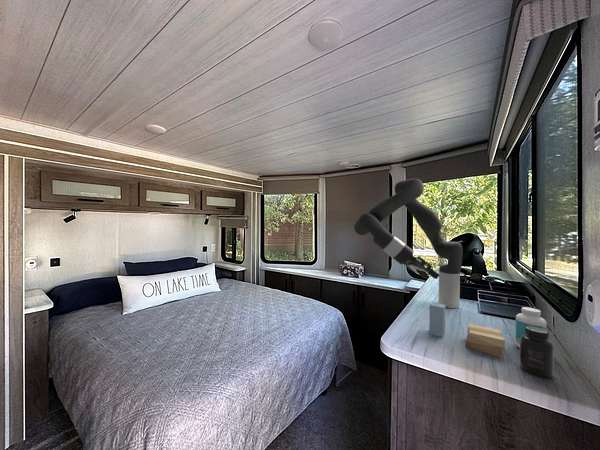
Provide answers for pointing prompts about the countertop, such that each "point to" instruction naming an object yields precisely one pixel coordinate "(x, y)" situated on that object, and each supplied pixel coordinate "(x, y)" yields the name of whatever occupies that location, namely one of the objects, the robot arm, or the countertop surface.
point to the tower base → (483, 348)
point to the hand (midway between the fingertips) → (432, 277)
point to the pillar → (437, 319)
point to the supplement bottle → (537, 352)
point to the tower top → (486, 336)
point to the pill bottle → (528, 322)
